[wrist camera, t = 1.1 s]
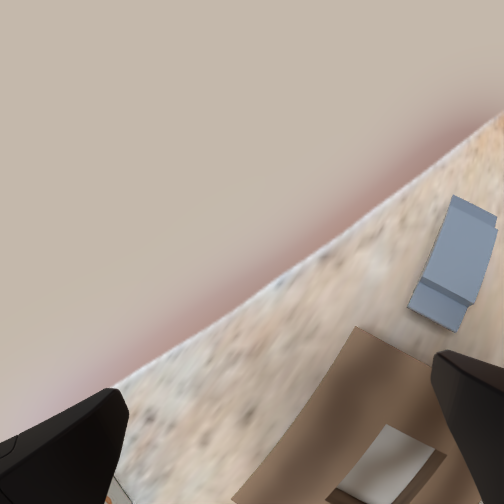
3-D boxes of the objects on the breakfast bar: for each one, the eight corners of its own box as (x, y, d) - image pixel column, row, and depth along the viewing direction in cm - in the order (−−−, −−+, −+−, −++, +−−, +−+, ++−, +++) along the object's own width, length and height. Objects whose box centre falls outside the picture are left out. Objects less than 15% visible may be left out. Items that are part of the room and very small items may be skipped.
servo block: (483, 235, 22) (503, 208, 17) (444, 336, 21) (462, 330, 17) (444, 215, 24) (456, 184, 20) (402, 313, 24) (410, 302, 19)
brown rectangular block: (516, 414, 16) (532, 420, 13) (395, 564, 14) (394, 583, 11) (357, 329, 24) (355, 325, 21) (246, 486, 23) (230, 499, 20)
